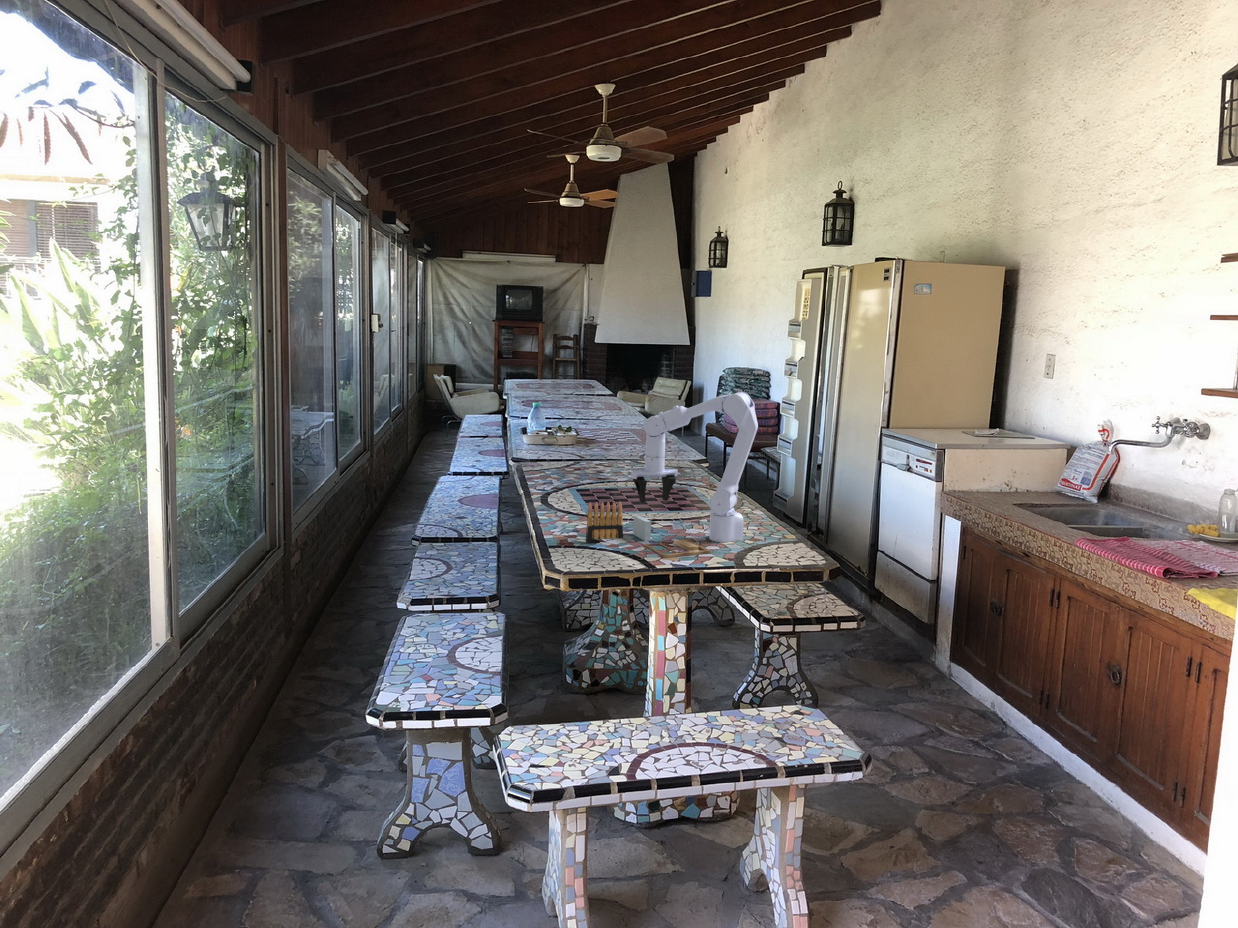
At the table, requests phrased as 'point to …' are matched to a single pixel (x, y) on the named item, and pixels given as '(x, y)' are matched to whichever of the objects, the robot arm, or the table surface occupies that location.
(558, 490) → the table surface
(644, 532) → the block
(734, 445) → the robot arm
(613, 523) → the ammunition clip
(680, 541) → the offcut oak
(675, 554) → the rack
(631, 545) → the table surface
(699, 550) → the offcut birch
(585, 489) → the table surface
